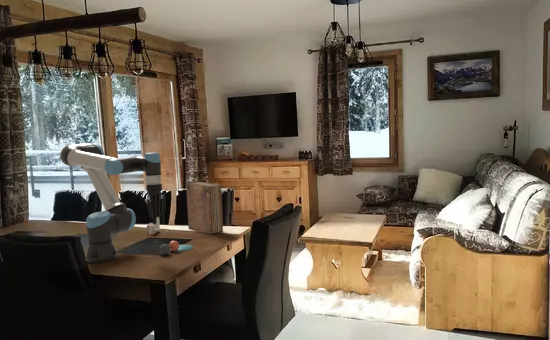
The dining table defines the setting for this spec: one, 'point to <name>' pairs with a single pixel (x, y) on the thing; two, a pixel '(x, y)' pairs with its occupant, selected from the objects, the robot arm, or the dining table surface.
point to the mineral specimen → (151, 229)
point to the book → (204, 207)
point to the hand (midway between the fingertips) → (156, 229)
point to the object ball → (174, 245)
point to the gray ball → (164, 249)
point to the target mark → (184, 248)
